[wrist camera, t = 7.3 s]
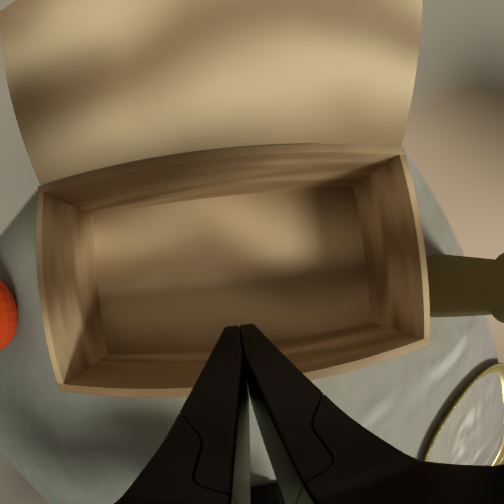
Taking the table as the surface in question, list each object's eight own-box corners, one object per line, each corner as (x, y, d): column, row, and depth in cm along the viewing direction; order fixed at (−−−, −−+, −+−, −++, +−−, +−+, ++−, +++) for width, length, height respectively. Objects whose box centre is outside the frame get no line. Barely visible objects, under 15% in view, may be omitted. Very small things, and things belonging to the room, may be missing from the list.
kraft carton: (373, 325, 21) (429, 344, 13) (107, 358, 19) (59, 390, 11) (355, 182, 21) (403, 147, 14) (91, 211, 19) (38, 186, 12)
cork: (455, 315, 21) (538, 326, 10) (414, 319, 21) (507, 338, 10) (457, 255, 22) (542, 245, 11) (417, 252, 21) (512, 238, 11)
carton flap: (422, -25, 5) (416, -24, 6) (-1, 12, 4) (4, 11, 4) (401, 146, 13) (396, 143, 14) (40, 185, 11) (44, 180, 12)
